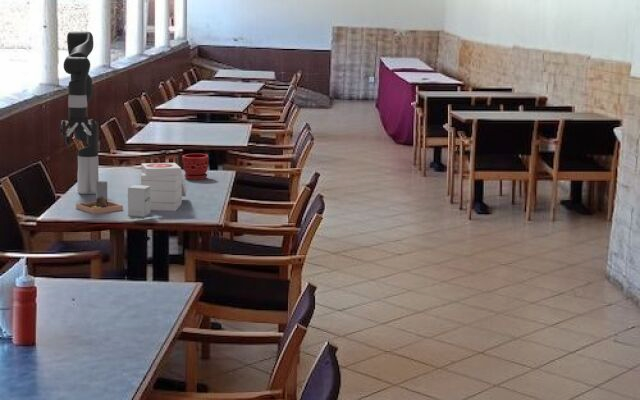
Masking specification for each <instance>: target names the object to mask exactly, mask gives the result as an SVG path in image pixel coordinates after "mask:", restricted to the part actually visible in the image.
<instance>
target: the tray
mask: <svg viewBox="0 0 640 400" xmlns="http://www.w3.org/2000/svg"><path fill="white" fill-rule="evenodd" d="M90 202H91V203H94V206H96V201H90ZM81 203H82V202H79V203H78V202H77V203H75V209H76V210H81V211H83V212H85V213H89V214H92V215H95V214H102V213H103V214H104V213H110V212H111V213H112V212H118V211H123V210H124V205H123V204H120V203H116V202H114V201H110V200H108V207H104V208H96V209H93V208H90V207H87V206H84V205H81Z"/></svg>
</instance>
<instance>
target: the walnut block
mask: <svg viewBox="0 0 640 400" xmlns="http://www.w3.org/2000/svg"><path fill="white" fill-rule="evenodd" d="M91 202H92V201H87V202H86V201H85V202H80V203H81V205H84V206H87V207H90V208H91V207H92V206H94V203H91Z"/></svg>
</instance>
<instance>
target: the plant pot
mask: <svg viewBox="0 0 640 400" xmlns="http://www.w3.org/2000/svg"><path fill="white" fill-rule="evenodd" d="M181 157H182V158H181V160H182V162H181V163H182V168H183V171H184V175H183V177H185V178H186V179H187V180H193V181H196V180H198V181H199V180H203V179H206V178H207V177H208V174H207V171H208V169H209V155H208V154H207V153H206V154H205V153H187V154H183V155H182V156H181Z"/></svg>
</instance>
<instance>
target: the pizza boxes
mask: <svg viewBox="0 0 640 400" xmlns="http://www.w3.org/2000/svg"><path fill="white" fill-rule="evenodd" d="M140 171H141V172H142V174H141V175H140V185H143V186H150V211H169V212H171V211H173V212H176V211H177V209H179V208H180V207H181V206H182V199H183V198H182V197H187V194H188V192H187V191H188V190H187V189H188V188H187V187H186V182H185V178H184V175H183V171H182V167H181V166H179V165H178V164H177V163H176V162H151V163H150V162H149V163H148V162H147V163H140Z"/></svg>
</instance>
